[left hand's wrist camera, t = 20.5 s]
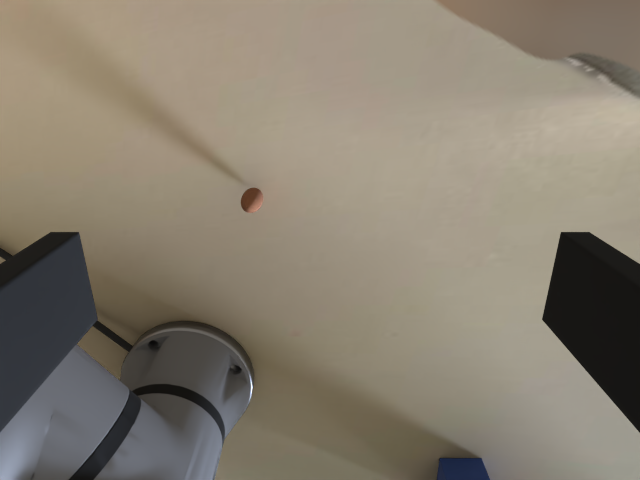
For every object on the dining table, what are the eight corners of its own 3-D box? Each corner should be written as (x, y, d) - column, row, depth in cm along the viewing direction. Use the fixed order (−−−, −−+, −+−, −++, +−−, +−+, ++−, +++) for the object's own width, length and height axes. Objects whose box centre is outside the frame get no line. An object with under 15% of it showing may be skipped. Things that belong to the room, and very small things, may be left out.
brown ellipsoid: (254, 206, 46) (246, 222, 41) (241, 190, 45) (232, 205, 41) (269, 195, 45) (263, 210, 41) (257, 179, 45) (250, 193, 40)
